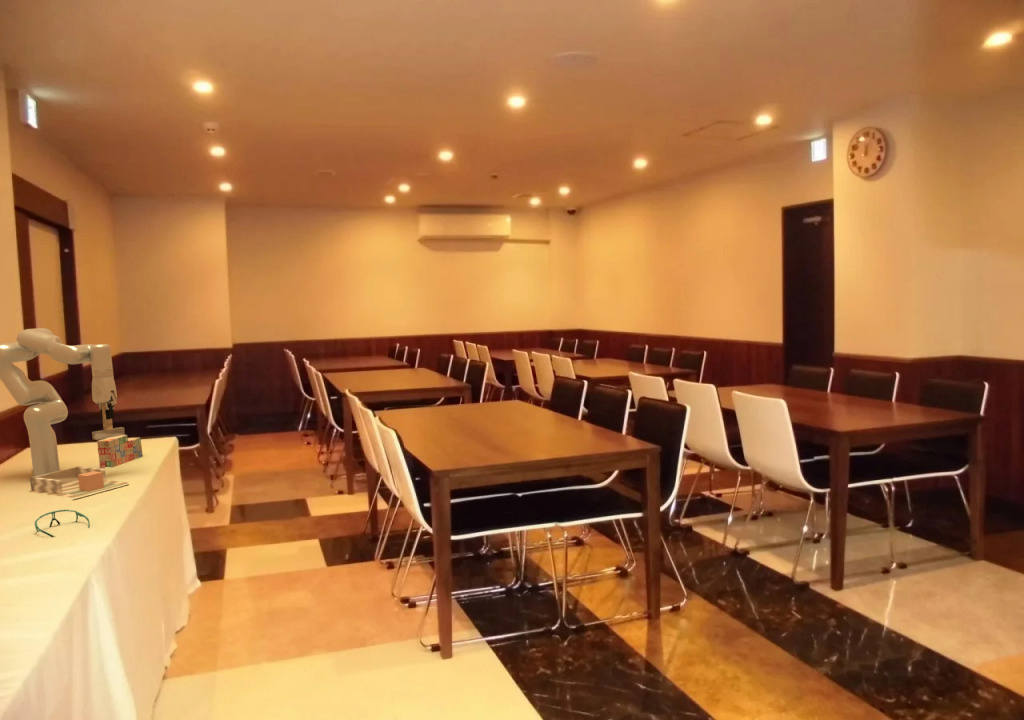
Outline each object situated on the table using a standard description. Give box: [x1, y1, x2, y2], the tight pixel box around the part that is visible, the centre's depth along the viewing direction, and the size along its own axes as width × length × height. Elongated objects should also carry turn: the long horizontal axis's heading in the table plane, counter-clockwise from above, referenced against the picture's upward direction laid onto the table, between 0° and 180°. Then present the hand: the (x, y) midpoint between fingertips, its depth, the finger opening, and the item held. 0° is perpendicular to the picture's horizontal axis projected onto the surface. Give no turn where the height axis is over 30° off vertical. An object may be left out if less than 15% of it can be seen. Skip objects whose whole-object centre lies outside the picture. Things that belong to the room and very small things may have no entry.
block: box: [78, 471, 104, 491], centre depth 289 cm, size 6×6×6 cm
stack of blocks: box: [96, 434, 143, 469], centre depth 342 cm, size 21×6×12 cm, turn 172°
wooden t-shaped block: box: [91, 401, 126, 441], centre depth 309 cm, size 3×12×16 cm, turn 151°
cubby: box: [27, 466, 130, 501], centre depth 293 cm, size 30×22×6 cm
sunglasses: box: [34, 509, 91, 538], centre depth 241 cm, size 14×15×5 cm
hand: (107, 418), depth 309 cm, fingers closed on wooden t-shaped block, 2 cm apart
